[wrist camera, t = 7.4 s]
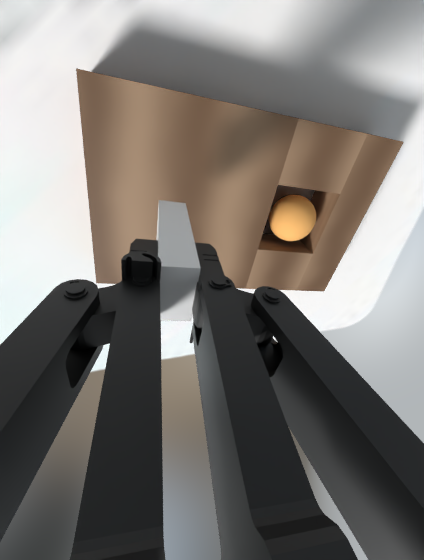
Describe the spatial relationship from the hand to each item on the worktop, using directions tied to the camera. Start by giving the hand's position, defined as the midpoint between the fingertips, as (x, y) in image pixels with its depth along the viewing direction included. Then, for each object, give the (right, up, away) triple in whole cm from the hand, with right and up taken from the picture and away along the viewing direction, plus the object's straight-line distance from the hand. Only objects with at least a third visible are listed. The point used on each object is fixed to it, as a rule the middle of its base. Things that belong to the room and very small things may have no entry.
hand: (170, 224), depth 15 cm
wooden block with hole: (+4, +4, +8) cm, 10 cm away
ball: (+10, +2, +8) cm, 12 cm away
